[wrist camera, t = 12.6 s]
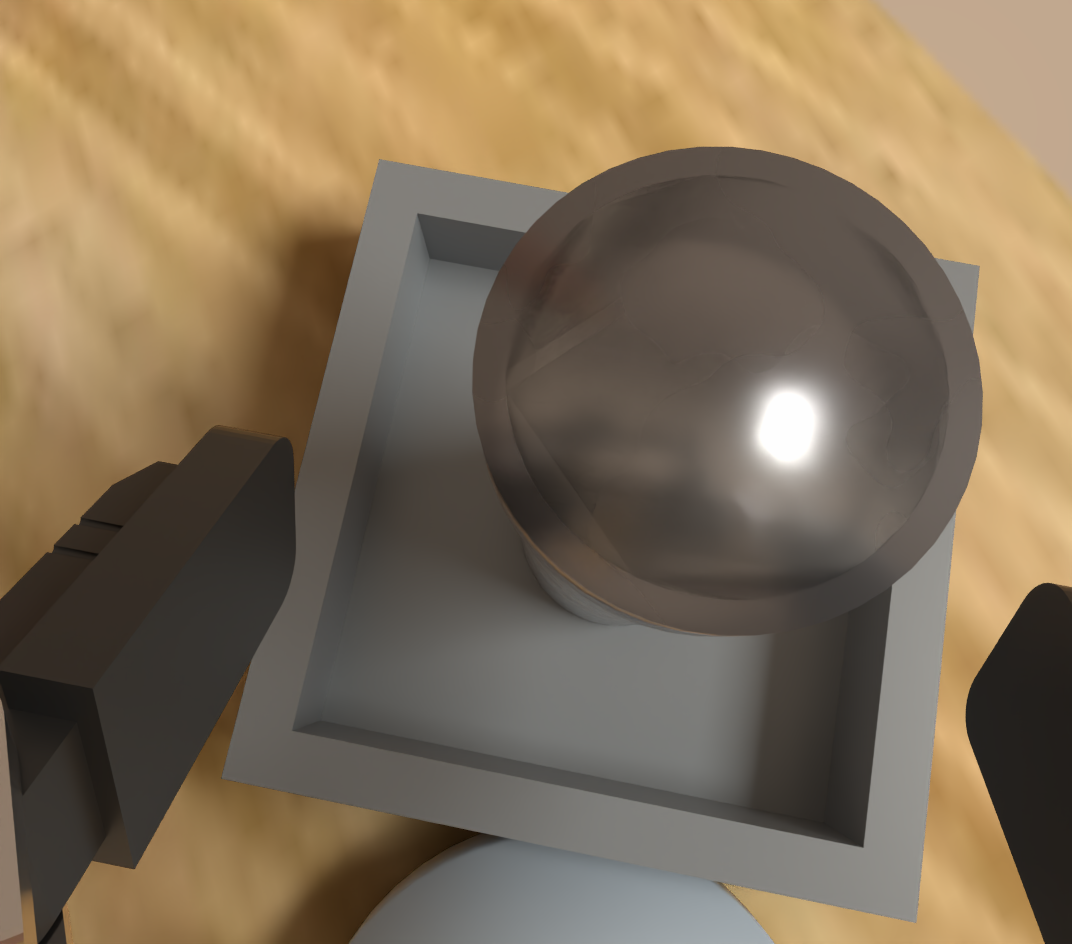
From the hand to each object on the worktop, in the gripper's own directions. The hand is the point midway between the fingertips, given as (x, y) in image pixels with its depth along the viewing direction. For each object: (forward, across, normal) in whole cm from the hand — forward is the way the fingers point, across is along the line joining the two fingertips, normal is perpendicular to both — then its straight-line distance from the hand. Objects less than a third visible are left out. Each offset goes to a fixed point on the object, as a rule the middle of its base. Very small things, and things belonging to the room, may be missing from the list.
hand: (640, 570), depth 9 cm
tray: (+8, 0, +5) cm, 9 cm away
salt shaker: (+7, 0, +4) cm, 8 cm away
